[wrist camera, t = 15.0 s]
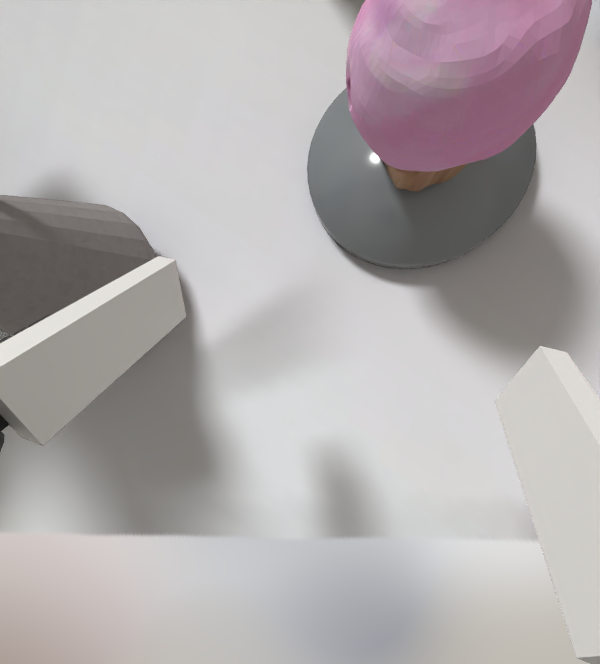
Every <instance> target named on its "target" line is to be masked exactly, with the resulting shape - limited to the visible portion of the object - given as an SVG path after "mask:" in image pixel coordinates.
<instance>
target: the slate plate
mask: <svg viewBox="0 0 600 664" xmlns="http://www.w3.org/2000/svg"><path fill="white" fill-rule="evenodd" d="M535 159H536V136H535V129H534V125H533V124H532V125H531V126H530V127H529V129H528V130H527V131H526V132H525V133H524V134H523V135H521V136H520V137H519V138H518V139H517V140H516V141H515V142H514V143H513V144H512V145H510V146H509V147H508V148H507V149H505V150H503V151H502V152H500V153H498V154H496V155H494V156H492V157H489V158H487V159H485V160H480V161H476V162H472V163H468V164H467V165H466V166H465V167H464V168H463V169H462V170H461V171H460V172H459V173H457V174H456V175H455V176H454V177H453V178H451V179H450V180H448V181H445V182H442V183H438V184H432V185H430V186H427V187H425V188H424V189H422V190H420V191H419V192H415V191H408V190H406V189H399V188H397V187H396V186H395V185H394V183H393V181H392V179H391V178H390V176H389V174H388V170H387V166H386V165H385V163H384V162H383V161H382V160H381V159H380V158H379V157H378V156H377V155H376V154H375V153H374V152H373V150H372V149H371V148H370V147H369V146H368V144H367V143H366V142H365V140H364V139H363V138H362V136H361V134H360V133H359V131H358V129H357V127H356V125H355V123H354V122H353V119H352V117H351V114H350V112H349V104H348V96H347V88H346V89H345V90H344V91H343V92H342V93H341V94H339V95H338V97H337V98H336V99H335V100H334V101H333V103H332V104H331V105H330V106H329V108H328V109H327V111H326V112H325V114H324V115H323V117H322V119H321V121H320V123H319V125H318V127H317V129H316V131H315V134H314V136H313V139H312V142H311V146H310V151H309V155H308V166H307V172H308V184H309V190H310V194H311V198H312V201H313V204H314V207H315V210H316V213H317V215H318V217H319V219H320V221H321V223H322V225H323V226H324V228H325V229H326V231H327V232H328V234H329V235H330V236H331V237H332V238H333V239H334V240H335V241H336V242H337V243H338V244H339V245H340V246H341V247H343V248H344V249H345V250H346V251H348V252H349V253H351V254H353V255H354V256H356V257H358V258H360V259H362V260H364V261H367V262H369V263H372V264H376V265H379V266H383V267H390V268H398V269H413V268H424V267H429V266H433V265H438V264H441V263H444V262H447V261H450V260H452V259H455V258H457V257H459V256H461V255H463V254H465V253H467V252H468V251H470V250H471V249H473V248H474V247H476V246H478V245H479V244H480V243H481V242H483V241H484V240H485V239H486V238H487V237H489V236H490V235H491V234H492V233H493V232H495V231H496V230H497V229H498V228H499V227H500V226H501V225H502V224H503V223H504V222H505V221H506V220H507V219H508V218H509V217H510V216H511V214H512V213H513V211H514V210H515V209H516V207H517V206H518V205H519V203H520V201H521V199H522V198H523V196H524V194H525V192H526V190H527V188H528V185H529V182H530V180H531V177H532V174H533V169H534V164H535Z"/></svg>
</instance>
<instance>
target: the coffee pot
mask: <svg viewBox="0 0 600 664" xmlns="http://www.w3.org/2000/svg"><path fill="white" fill-rule="evenodd" d="M154 258H155V255H154V252H153V249H152V247H151V246H150V244H149V242H148V241H147V239H146V237H145V236H144V234H143V233H142V231H141V229H140V228H139V227H138V226H137V225H136V224H135V223H134V222H133V221H132V220H131V219H129V218H128V217H127V216H126V215H125V214H124V213H122V212H120V211H117V210H115V209H113V208H111V207H109V206H106V205H99V204H90V203H79V202H69V201H59V200H48V199H38V198H28V197H18V196H7V195H0V330H2V331H4V332H6V333H9V334H11V335H14V333H15V332H17V331H19V330H21V329H22V328H24V327H26V328H28V326H29V325H30V324H32V323H33V322H35V321H37V320H39V319H41V318H43V317H44V316H46V315H49V314H52V313H55V312H58V311H60V310H62V309H63V308H65V307H67V306H69V305H71V304H73V303H74V302H76V301H78V300H80V299H82V298H83V297H85V296H87V295H89V294H91V293H92V292H94V291H96V290H98V289H100V288H102V287H103V286H105V285H107V284H109V283H111V282H112V281H114V280H116V279H118V278H120V277H122V276H123V275H125V274H127V273H129V272H131V271H132V270H134V269H136V268H138V267H140V266H141V265H143V264H145V263H147V262H149V261H151V260H152V259H154Z"/></svg>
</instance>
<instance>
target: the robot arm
mask: <svg viewBox="0 0 600 664" xmlns="http://www.w3.org/2000/svg"><path fill="white" fill-rule="evenodd" d="M185 317H187V316H186V311H185V306H184V301H183V296H182V291H181V285H180V280H179V275H178V270H177V265H176V260H174V259H169V258H165V257H161V256H158V257H156V258H154V259H152V260H151V261H149V262H147V263H145V264H143V265H141V266H140V267H138V268H136V269H134V270H132V271H131V272H129V273H127V274H125V275H123V276H122V277H120V278H118V279H116V280H114V281H112V282H111V283H109V284H107V285H105V286H103V287H102V288H100V289H98V290H96V291H94V292H92V293H91V294H89V295H87V296H85V297H83V298H82V299H80V300H78V301H76V302H74V303H73V304H71V305H69V306H67V307H65V308H63V309H62V310H60V311H58V312H55V313H52V314H49V315H46V316H44V317H43V318H41V319H39V320H37V321H35V322H33V323H32V324H30V325H29V326H28V328H26V327H24V328H22V329H21V330H19V331H17V332H15V333H14V335H13V336H8V337H6V338H4V339H2V340H0V451H1V448H2V446H3V443H4V434H3V433H2V432H1V431H2V430H3V429H4V428H6V427H7V426H8V425H10V426H11V427H12V428H13V429H14V430H15V431H16V432H17V433H18V434H19V435H20V436H21V437H22V438H25V439H27V440H30V441H32V442H35V443H37V444H40V445H44V444H45V443H47V442H48V441H49V440H50V439H51V438H52V437H53V436H54V435H55V434H57V433H58V432H59V431H60V430H61V429H62V428H63V427H64V426H65V425H67V424H68V423H69V422H70V421H71V420H72V419H73V418H74V417H75V416H77V415H78V414H79V413H80V412H81V411H82V410H83V409H84V408H85V407H87V406H88V405H89V404H90V403H91V402H92V401H93V400H94V399H95V398H97V397H98V396H99V395H100V394H101V393H102V392H103V391H104V390H105V389H107V388H108V387H109V386H110V385H111V384H112V383H113V382H114V381H115V380H117V379H118V378H119V377H120V376H121V375H122V374H123V373H124V372H125V371H127V370H128V369H129V368H130V367H131V366H132V365H133V364H134V363H135V362H137V361H138V360H139V359H140V358H141V357H142V356H143V355H144V354H145V353H147V352H148V351H149V350H150V349H151V348H152V347H153V346H154V345H155V344H157V343H158V342H159V341H160V340H161V339H162V338H163V337H164V336H165V335H167V334H168V333H169V332H170V331H171V330H172V329H173V328H174V327H175V326H177V325H178V324H179V323H180V322H181V321H182V320H183V319H184V318H185ZM494 401H495V404H496V408H497V411H498V414H499V417H500V420H501V423H502V426H503V430H504V433H505V436H506V439H507V442H508V445H509V448H510V451H511V455H512V458H513V461H514V464H515V467H516V470H517V473H518V477H519V480H520V483H521V486H522V489H523V492H524V495H525V498H526V502H527V505H528V508H529V511H530V514H531V517H532V520H533V524H534V527H535V530H536V533H537V536H538V539H539V542H540V545H541V549H542V551H543V555H544V558H545V561H546V564H547V567H548V571H549V574H550V577H551V580H552V583H553V586H554V589H555V593H556V596H557V599H558V602H559V605H560V608H561V611H562V614H563V617H564V621H565V624H566V627H567V630H568V633H569V636H570V640H571V642H572V646H573V649H574V652H575V655H576V658H578V659H581V660H583V661H586V662H588V663H591V664H600V399H599V397H598V396H597V395H596V393H595V392H594V390H593V389H592V387H591V386H590V385H589V383H588V382H587V380H586V379H585V377H584V376H583V375H582V373H581V372H580V370H579V369H578V367H577V366H576V365H575V363H574V362H573V360H572V359H571V357H570V356H569V355H568V353H567V352H564V351H560V350H556V349H551V348H547V347H543V346H539V348H538V349H537V350H536V351H535V352H534V353H533V355H532V356H531V357H530V358H529V359H528V361H527V362H526V363H525V364H524V365H523V367H522V368H521V369H520V370H519V371H518V373H517V374H516V375H515V376H514V377H513V378H512V380H511V381H510V382H509V383H508V384H507V386H506V387H505V388H504V389H503V390H502V392H501V393H500V394H499V395H498V396H497V397H496V399H495V400H494Z"/></svg>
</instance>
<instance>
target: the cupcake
mask: <svg viewBox="0 0 600 664" xmlns="http://www.w3.org/2000/svg"><path fill="white" fill-rule="evenodd" d="M591 5H592V0H365V2H364V3H363V5H362V7H361V9H360V11H359V13H358V16H357V18H356V20H355V23H354V26H353V29H352V32H351V35H350V39H349V43H348V48H347V62H346V64H347V67H346V85H347V96H348V104H349V112H350V114H351V117H352V119H353V122H354V123H355V125H356V127H357V129H358V131H359V133H360V134H361V136H362V138H363V139H364V140H365V142H366V143H367V144H368V146H369V147H370V148H371V149H372V150H373V152H374V153H375V154H376V155H377V156H378V157H379V158H380V159H381V160H382V161H383V162H384V163H385V165H386V166H387V170H388V174H389V176H390V178H391V179H392V181H393V183H394V185H395V186H396V187H397V188H399V189H406V190H408V191H415V192H419V191H420V190H422V189H424V188H425V187H427V186H430V185H432V184H438V183H442V182H445V181H448V180H450V179H451V178H453V177H454V176H455V175H456V174H457V173H459V172H460V171H461V170H462V169H463V168H464V167H465V166H466V165H467V164H468V163H472V162H476V161H480V160H485V159H487V158H489V157H492V156H494V155H496V154H498V153H500V152H502V151H503V150H505V149H507V148H508V147H509V146H510V145H512V144H513V143H514V142H515V141H516V140H517V139H518V138H519V137H520V136H521V135H523V134H524V133H525V132H526V131H527V130H528V129H529V127H530V126H531V125H532V124H533V123H534V122H535V121H536V120H537V119H538V118H539V117H540V116H541V115H542V113H543V112H544V111H545V110H546V109H547V108H548V106H549V105H550V104H551V102H552V101H553V100H554V98H555V97H556V95H557V94H558V93H559V91H560V90H561V88H562V87H563V85H564V84H565V82H566V80H567V78H568V77H569V75H570V73H571V70H572V68H573V65H574V63H575V60H576V58H577V55H578V53H579V50H580V46H581V43H582V40H583V36H584V33H585V30H586V26H587V22H588V18H589V14H590V9H591Z"/></svg>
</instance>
